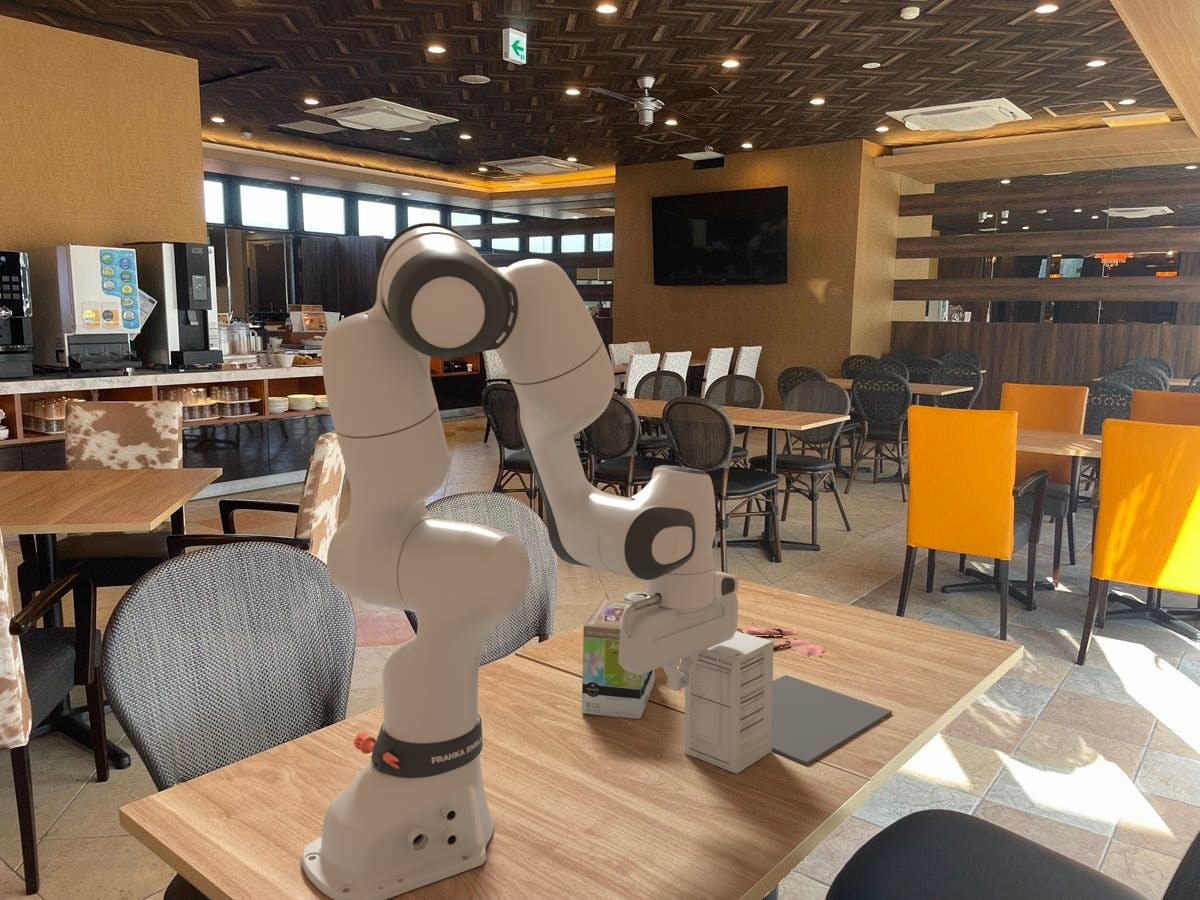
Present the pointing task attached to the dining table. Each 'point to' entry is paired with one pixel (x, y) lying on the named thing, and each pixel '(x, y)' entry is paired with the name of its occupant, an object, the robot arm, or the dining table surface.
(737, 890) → the dining table surface
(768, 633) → the cloth
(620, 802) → the dining table surface
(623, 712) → the tea box
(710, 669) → the supplement box
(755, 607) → the dining table surface
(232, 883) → the dining table surface
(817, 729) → the mat
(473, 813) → the robot arm
